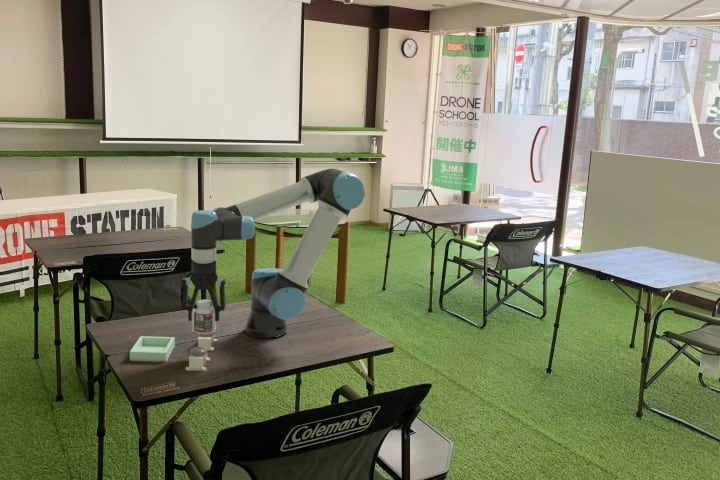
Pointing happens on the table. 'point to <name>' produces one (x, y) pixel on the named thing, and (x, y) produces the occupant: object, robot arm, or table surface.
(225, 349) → the table surface
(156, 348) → the tray
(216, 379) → the table surface
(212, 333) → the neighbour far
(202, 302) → the pill bottle
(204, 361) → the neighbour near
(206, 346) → the cream flat pieces
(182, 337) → the table surface
